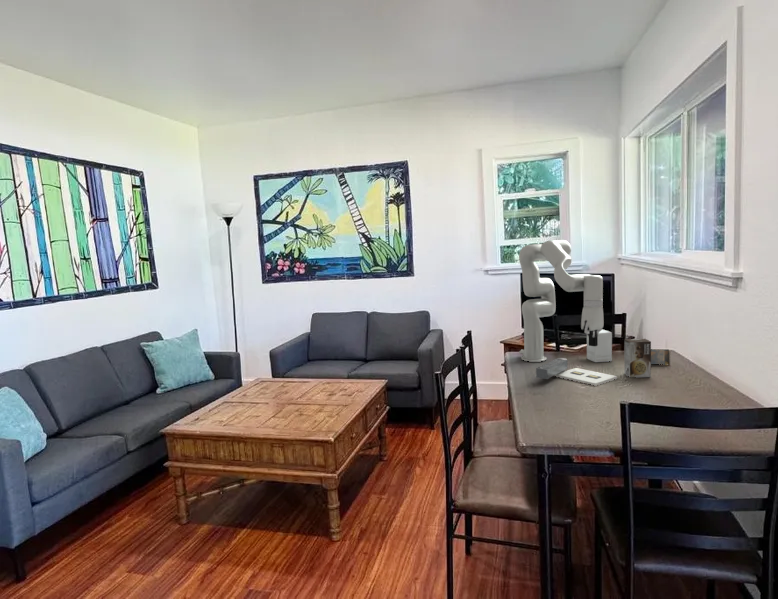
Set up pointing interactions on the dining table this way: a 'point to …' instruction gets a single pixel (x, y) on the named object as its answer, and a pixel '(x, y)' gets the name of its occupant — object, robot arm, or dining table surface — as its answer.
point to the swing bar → (551, 368)
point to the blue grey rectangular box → (660, 356)
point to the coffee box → (637, 358)
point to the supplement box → (601, 348)
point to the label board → (586, 376)
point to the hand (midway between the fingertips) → (593, 345)
